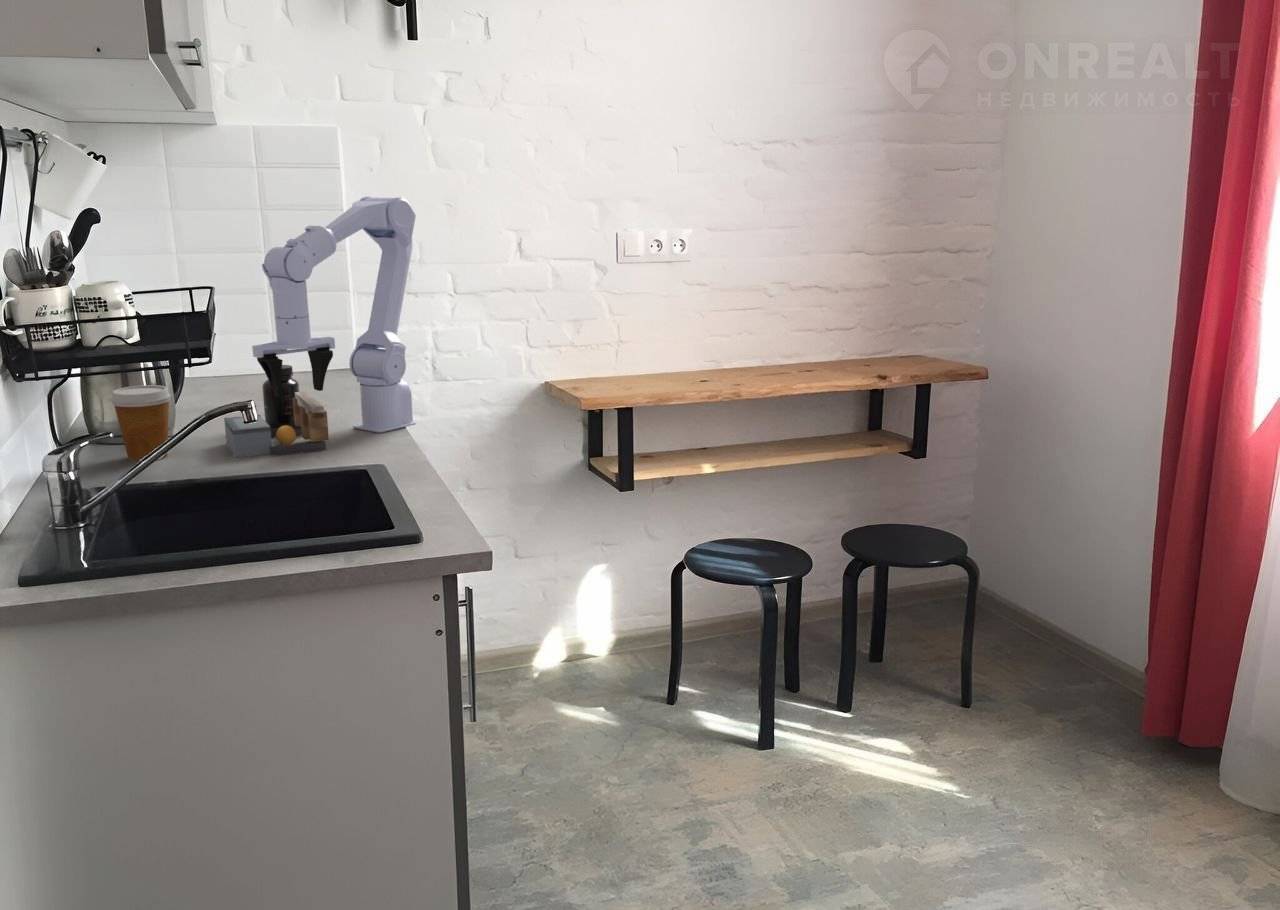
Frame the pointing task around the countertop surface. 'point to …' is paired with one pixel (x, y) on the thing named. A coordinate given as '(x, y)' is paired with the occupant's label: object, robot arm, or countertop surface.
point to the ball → (286, 435)
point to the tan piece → (310, 417)
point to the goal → (247, 437)
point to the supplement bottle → (280, 401)
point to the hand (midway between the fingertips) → (298, 392)
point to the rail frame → (295, 445)
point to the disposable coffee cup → (142, 418)
